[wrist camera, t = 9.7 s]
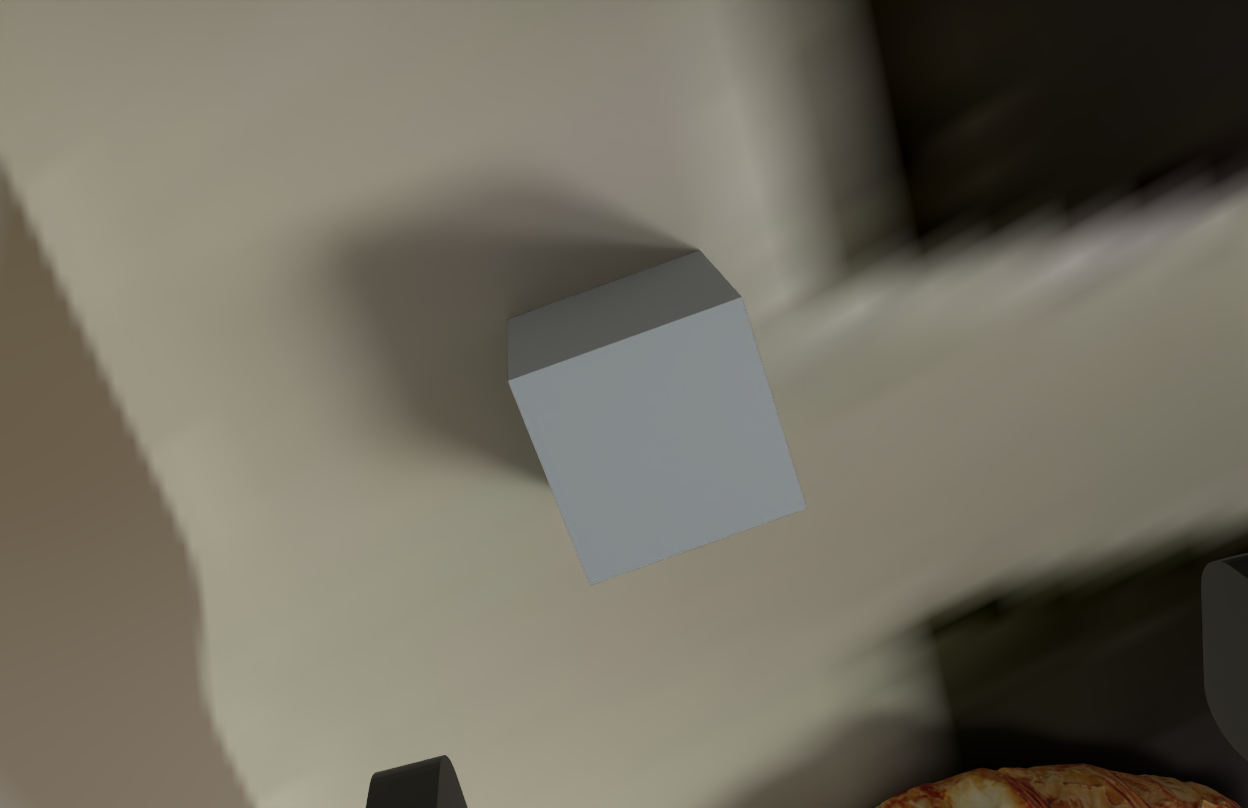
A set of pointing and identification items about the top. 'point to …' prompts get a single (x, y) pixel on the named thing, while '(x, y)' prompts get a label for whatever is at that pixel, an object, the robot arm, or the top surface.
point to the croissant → (1058, 790)
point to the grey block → (651, 415)
